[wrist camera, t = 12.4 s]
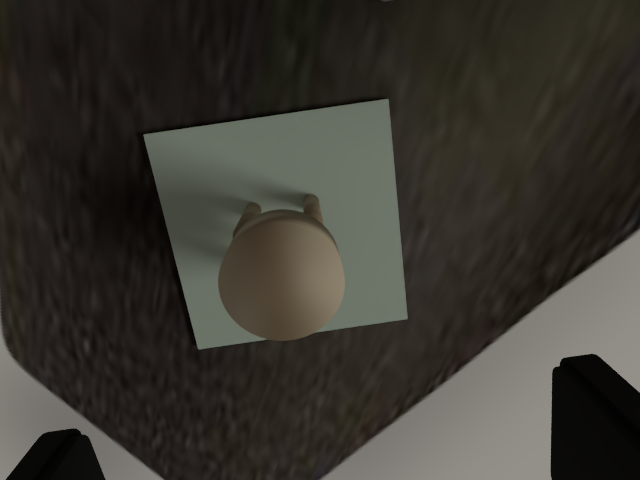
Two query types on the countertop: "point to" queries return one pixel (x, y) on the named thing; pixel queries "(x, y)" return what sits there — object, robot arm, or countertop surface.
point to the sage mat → (284, 204)
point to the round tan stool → (282, 272)
